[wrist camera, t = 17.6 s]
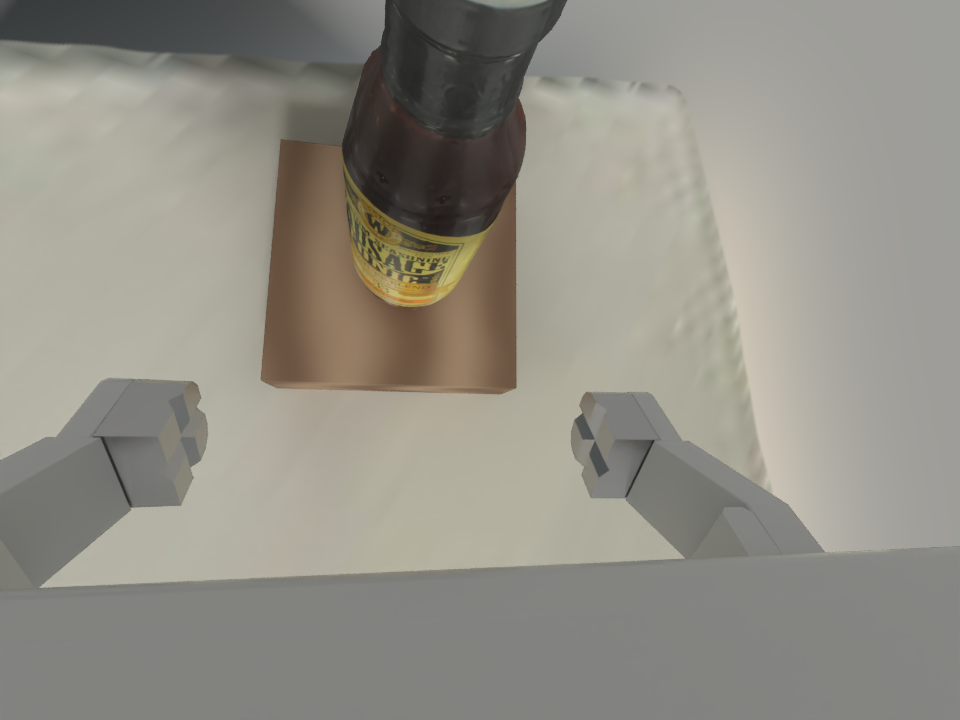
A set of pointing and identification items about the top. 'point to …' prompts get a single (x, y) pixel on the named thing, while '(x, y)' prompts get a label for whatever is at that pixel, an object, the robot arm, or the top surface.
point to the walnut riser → (377, 300)
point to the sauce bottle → (437, 139)
